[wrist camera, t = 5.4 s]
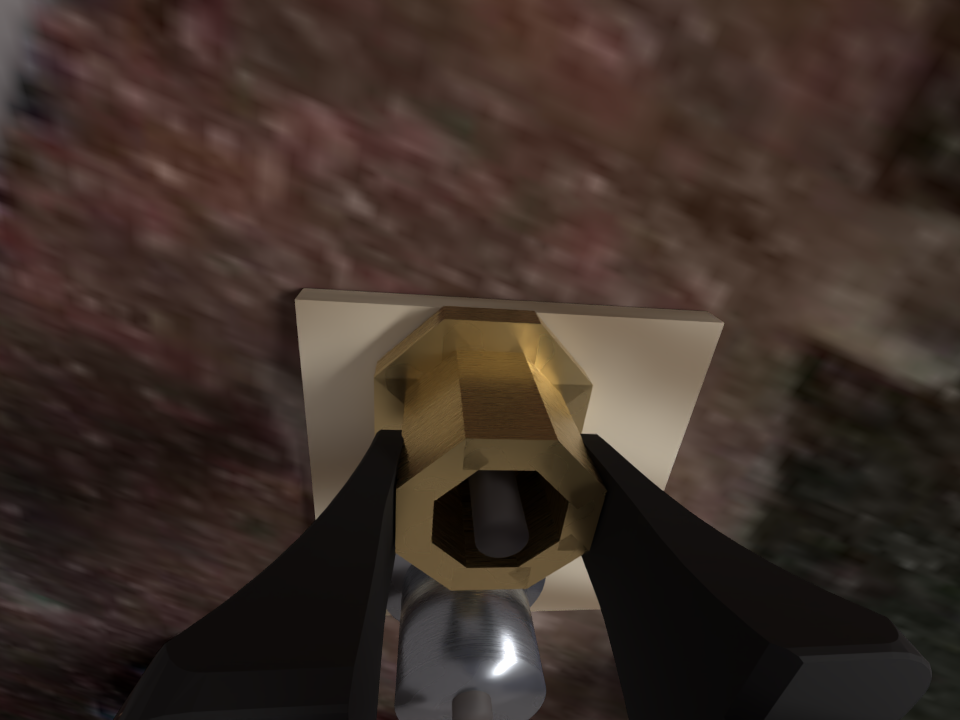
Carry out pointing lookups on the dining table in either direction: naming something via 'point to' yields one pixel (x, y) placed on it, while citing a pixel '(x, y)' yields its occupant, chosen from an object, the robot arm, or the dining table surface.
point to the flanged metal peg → (463, 647)
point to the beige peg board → (494, 493)
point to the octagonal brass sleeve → (488, 443)
